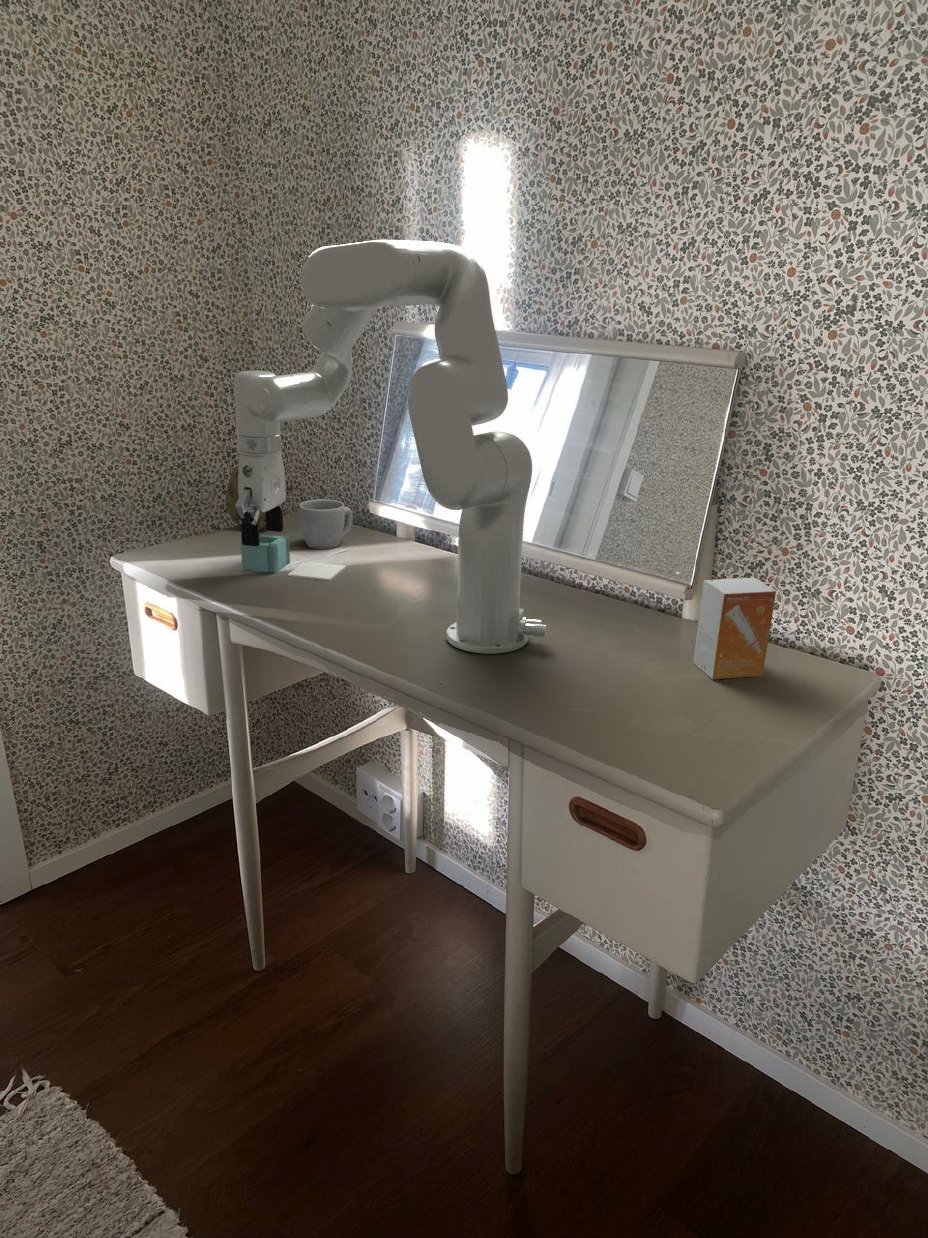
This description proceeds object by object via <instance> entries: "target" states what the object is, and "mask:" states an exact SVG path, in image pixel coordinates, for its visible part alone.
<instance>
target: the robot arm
mask: <svg viewBox="0 0 928 1238" xmlns="http://www.w3.org/2000/svg"><path fill="white" fill-rule="evenodd" d="M300 285H301V290H302V292H303V295H304V297H305V298H306V300H307V301H308V302H309V303H310V304H311V307H310V309H309V311H308V312H307V313H306V314H305V316H304V319H303V322H302V329H303V332H304V333H303V334H304V335H305V337H306V339H307V340H308V342H309V343H310V345H312V346H313V347H314V348H315V349H316V350H318V352H320V353H321V355H320V356H319V358H318V359H317V360H316V362H315V364H314V365H313V366H312V368H311V369H310V371H309V372H298V373H288V374H282V375H281V374H280V375H277V374H275V373H274V372H272V371H268V370H255V369H253V370H243V371H239V372H237V373H236V374H235V376H234V380H233V384H234V386H233V388H234V407H235V425H236V428H235V429H236V445H237V446H236V448H237V453H238V454H239V458H238V465H239V472H238V492H239V499H238V501H237V502H236V509H237V512H238V514H237V515H238V518H239V522H240V524H241V527H240V531H241V533H240V535H241V543H242V544H243V545H248V546H256V547H257V546H259V545H260V539H259V534H260V530H259V524H256V523H257V519H258V516H259V512H260V510H261V512H266V527H265V529H266V531H267V532H275V533H281V532H283V531H284V511H283V510H284V504H283V503H284V502H285V501H286V498H287V489H286V488H287V487H286V477H285V476H286V475H285V466H284V460H283V459H284V458H283V455H282V437H281V433H282V431H281V423H284V422H285V423H286V422H291V421H292V422H293V421H296V420H303V419H309V418H318V417H321V416H323V415H325V414H326V413H329V411H330V410H331V409H332V408H333V407H334V406H335V405H336V404H337V402H338V401H339V400H340V398H341V397H342V395H343V394H344V393H345V391H346V390H347V388H348V386H349V384H350V382H351V378H352V373H353V354H352V349H353V348H354V346H355V345H356V343H357V341H358V340H359V338H360V337H361V336H362V334H363V332H364V331H365V330H366V328H367V326H368V324H369V323H370V322H371V321H372V319H373V318H374V316H375V314H376V313H377V311H378V309H379V308H380V307H394V306H395V307H398V306H423V305H435V306H437V311H436V314H435V320H434V340H435V343H436V346H437V351H438V357H439V358H438V359H433V360H430V361H427V362H425V363H423V364H422V365H421V366H419V367H418V369H417V370H416V371H415V372H414V374H413V376H412V378H411V380H410V382H409V385H408V392H407V409H408V414H409V420H410V424H411V429H412V433H413V437H414V442H415V446H416V450H417V456H418V459H419V464H420V467H421V472H422V476H423V479H424V480H423V481H424V483H425V486H426V487H427V488H426V489H427V490H428V493H429V494H430V496H431V497H432V499H433V500H434V501H435V502H436V503H437V504H438V505H439V506H441V507H443V508H444V509H448V510H450V511H451V510H452V511H461V513H460V517H459V518H460V519H459V524H458V525H459V526H458V541H457V542H458V544H457V583H456V584H457V587H456V591H457V592H456V593H457V594H456V621H455V622H454V623H452V624H450V625H449V627H447V628H446V640H447V642H448V643H449V644H450V645H451V646H453V647H455V648H457V649H460V650H462V651H466V652H470V653H475V654H476V653H477V654H487V655H488V654H490V655H491V654H493V655H494V654H495V655H496V654H505V653H509V652H513V651H517V650H520V649H521V648H523V647H524V646H525V645H527V643H528V641H529V636H532V637H539V638H546V636H547V632H548V629H547V628H548V625H547V624H542V619H533V618H532V619H531V618H530V619H529V618H528V617H527V616H524V614H525V611H524V610H525V609H524V608H521V607H520V602H521V601H520V600H521V598H520V597H521V581H522V580H521V579H522V578H521V577H522V559H523V557H522V556H523V555H522V554H523V543H524V542H523V539H524V524H525V523H524V522H525V514H526V513H525V512H526V505H527V501H528V497H529V491H530V487H531V482H532V475H533V460H532V454H531V453H530V451H529V448H528V446H527V445H526V444H525V442H523V440H522V439H521V438H519V437H518V436H516V435H514V434H513V433H510V432H506V431H488V432H484V433H479V434H474V430H473V426H478V425H482V424H486V423H488V422H492V421H493V420H494V421H495V420H496V419H498V418H499V417H500V416H501V415H503V413H504V412H505V410H506V409H507V407H508V402H509V392H508V391H509V390H508V384H507V379H506V374H505V369H504V364H503V359H502V355H501V351H500V344H499V340H498V334H497V331H496V328H495V323H494V318H493V311H492V302H491V293H490V287H489V283H488V278H487V274H486V272H485V269H484V266H483V265H482V264H481V262H480V261H479V259H478V258H477V257H476V256H475V254H473V253H472V252H471V251H469V250H468V249H465V248H463V247H461V246H459V245H455V244H452V243H445V242H436V241H428V240H427V241H423V240H402V239H401V240H399V239H398V240H397V239H376V240H367V241H361V242H353V243H345V244H336V245H326V246H322V247H319V248H317V249H316V250H314V251H313V252H312V253H311V254H310V255H309V256H308V257H307V258H306V260H305V261H304V263H303V266H302V270H301V274H300ZM253 506H256V507H253ZM249 512H253V515H252V516H251V515H250V513H249Z"/></svg>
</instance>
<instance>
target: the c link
mask: <svg viewBox="0 0 928 1238" xmlns="http://www.w3.org/2000/svg"><path fill="white" fill-rule="evenodd" d="M259 539H260V545H259V546H257V547H256V546H248V545H243V544H242V542H240V548H241V549H240V550H241V551H240V552H241V565H242V566H241V567H242V568H241V569H242V570H243V571H253V572H260V573H261V572H262V573H269V574H271V573H272V574H276V573H278V572H279V571H280V570H281V569H283V568H285V567H286V566H288V565H289V564H290V563H291V555H290V537H289V536H281V535H272V534H260V533H259Z"/></svg>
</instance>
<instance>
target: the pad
mask: <svg viewBox="0 0 928 1238" xmlns="http://www.w3.org/2000/svg"><path fill="white" fill-rule="evenodd" d="M346 568H347V565H344V564H331V563H323V562H314V561H313V562H311V561H305V562H303V563H301V564H300V565H299V566H297V567H296V568H294V569H293V570H291V571H290V572H289V573H287V577H293V578H304V579H312V580H320V581H321V580H322V581H328V582H329V581H331V580H332V579H334V578H335V577H336V576H337V575H339V574H340V573H341V572H342V571H344V570H345V569H346Z"/></svg>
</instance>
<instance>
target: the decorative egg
mask: <svg viewBox="0 0 928 1238" xmlns="http://www.w3.org/2000/svg"><path fill="white" fill-rule="evenodd" d="M238 472H239V464H238V465H237V466H236V467H235V469H234V470H233V472H232V474H231V476H230V477H229V480H228V483H227V487H226V492H225V504H226V509H227V512H228V514H229V517H230V518H231V520H232V521H233V522H234V523H235V524H237V526H239V527H240V528H241V524H240V522H239V518H238V515H237V514H238V512H237V509H236V502H237V501H238V499H239V492H238ZM253 507H256V506H253ZM249 513H250V515H251V516H252V515H253V512H249ZM256 524H259V531H260V530H263V529H264V528H266V512H261V510H260V512H259V516H258V519H257V523H256Z"/></svg>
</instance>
